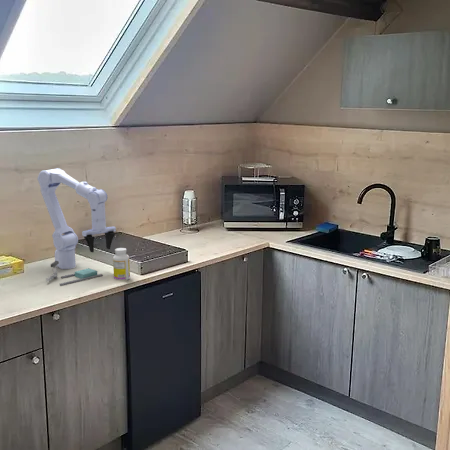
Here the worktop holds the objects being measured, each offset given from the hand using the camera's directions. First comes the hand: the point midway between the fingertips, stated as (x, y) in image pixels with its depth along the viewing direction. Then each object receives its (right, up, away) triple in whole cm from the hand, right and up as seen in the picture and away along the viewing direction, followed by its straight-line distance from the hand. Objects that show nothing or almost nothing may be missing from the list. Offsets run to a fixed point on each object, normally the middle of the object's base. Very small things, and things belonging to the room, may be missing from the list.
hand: (100, 250), depth 242 cm
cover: (-5, -12, -3) cm, 13 cm away
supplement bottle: (+10, -12, -4) cm, 16 cm away
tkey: (-17, -12, -9) cm, 23 cm away
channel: (-8, -12, -6) cm, 16 cm away
